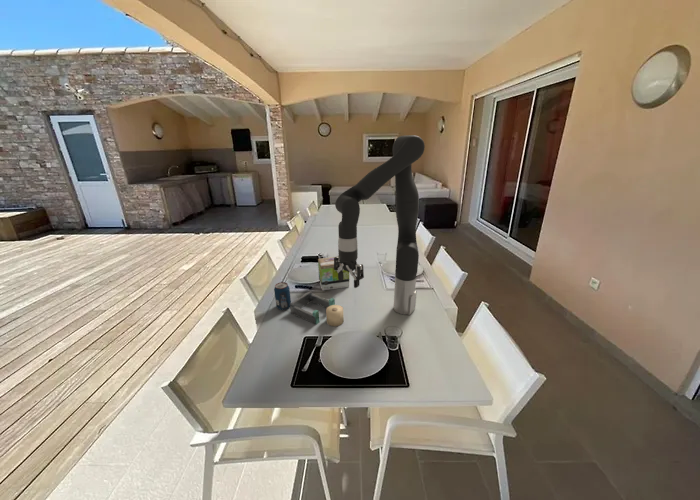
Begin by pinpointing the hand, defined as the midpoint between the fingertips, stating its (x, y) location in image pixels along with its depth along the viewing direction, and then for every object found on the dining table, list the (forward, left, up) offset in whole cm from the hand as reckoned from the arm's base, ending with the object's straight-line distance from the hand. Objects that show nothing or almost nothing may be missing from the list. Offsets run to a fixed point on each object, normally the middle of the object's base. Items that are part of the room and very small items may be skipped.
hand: (348, 283), depth 117 cm
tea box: (+26, -22, -20) cm, 39 cm away
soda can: (+33, +8, -20) cm, 39 cm away
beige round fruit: (+6, +3, -19) cm, 20 cm away
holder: (+19, +3, -19) cm, 27 cm away
